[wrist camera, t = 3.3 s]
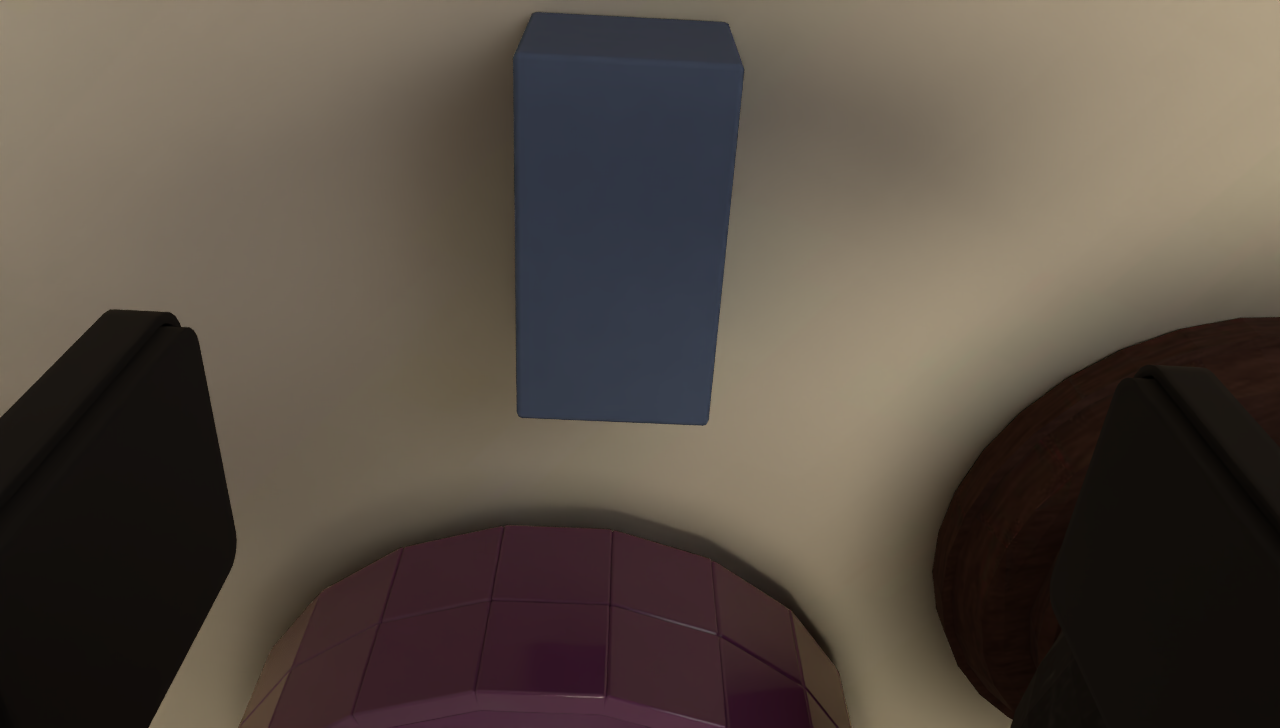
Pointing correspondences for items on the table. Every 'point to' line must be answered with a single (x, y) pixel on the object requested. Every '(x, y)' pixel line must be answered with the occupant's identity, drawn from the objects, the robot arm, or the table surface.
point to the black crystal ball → (1060, 518)
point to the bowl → (546, 642)
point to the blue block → (621, 214)
